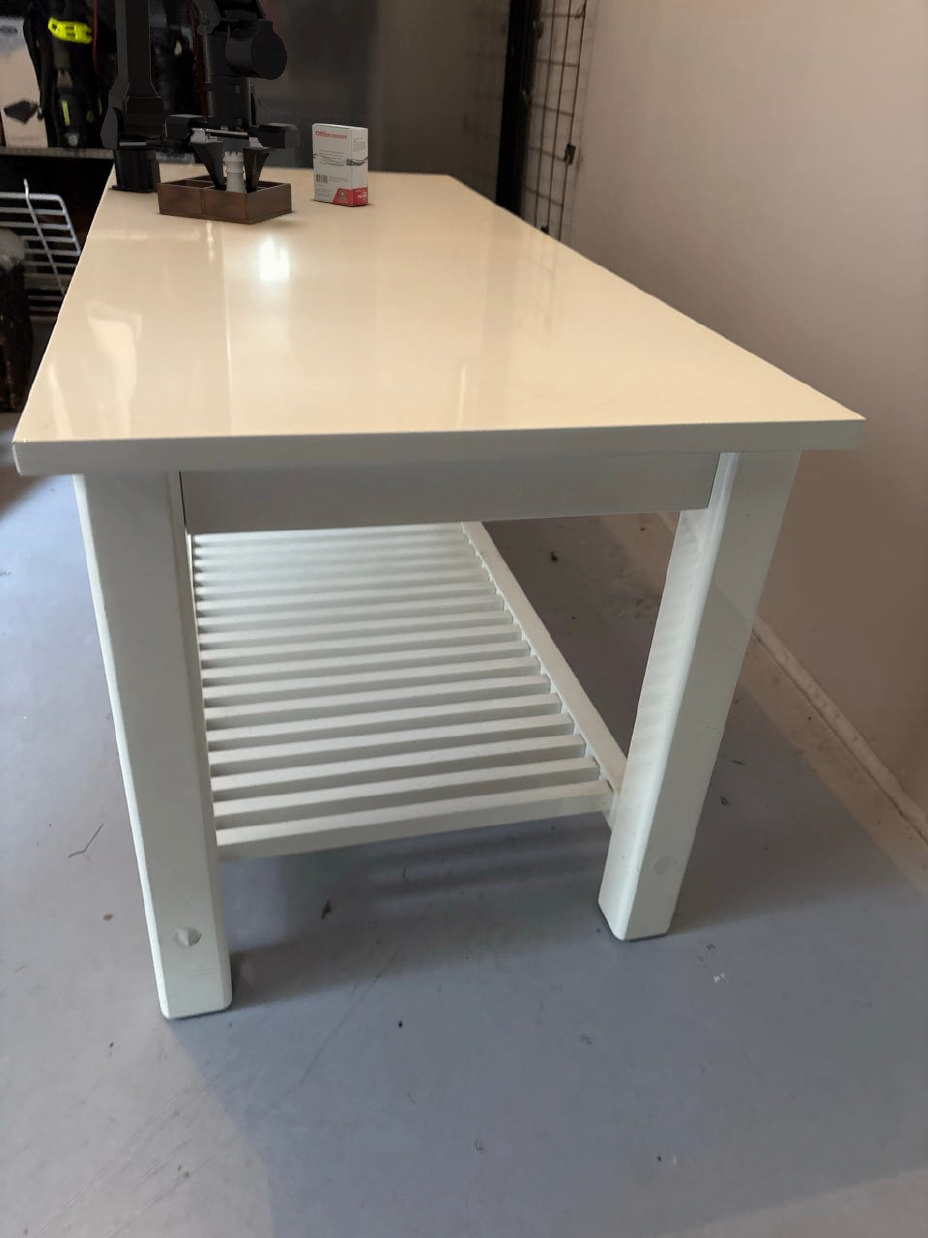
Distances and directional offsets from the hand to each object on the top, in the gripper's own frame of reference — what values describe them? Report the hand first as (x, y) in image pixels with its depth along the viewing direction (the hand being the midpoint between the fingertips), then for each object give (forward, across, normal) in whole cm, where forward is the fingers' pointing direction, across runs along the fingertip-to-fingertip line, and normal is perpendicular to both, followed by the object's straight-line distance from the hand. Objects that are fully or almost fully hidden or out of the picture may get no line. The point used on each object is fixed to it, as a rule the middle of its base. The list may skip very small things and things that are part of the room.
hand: (236, 196), depth 135 cm
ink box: (+3, -6, -26) cm, 26 cm away
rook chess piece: (+2, 0, 0) cm, 2 cm away
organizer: (+3, +4, -4) cm, 6 cm away
